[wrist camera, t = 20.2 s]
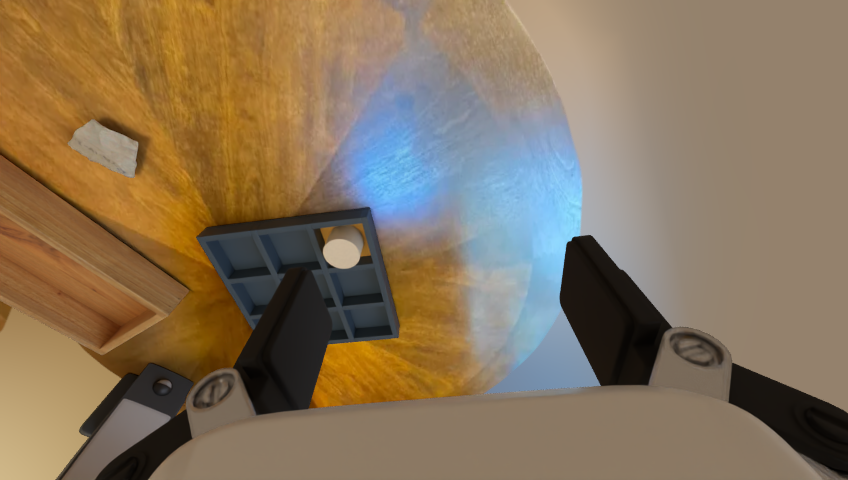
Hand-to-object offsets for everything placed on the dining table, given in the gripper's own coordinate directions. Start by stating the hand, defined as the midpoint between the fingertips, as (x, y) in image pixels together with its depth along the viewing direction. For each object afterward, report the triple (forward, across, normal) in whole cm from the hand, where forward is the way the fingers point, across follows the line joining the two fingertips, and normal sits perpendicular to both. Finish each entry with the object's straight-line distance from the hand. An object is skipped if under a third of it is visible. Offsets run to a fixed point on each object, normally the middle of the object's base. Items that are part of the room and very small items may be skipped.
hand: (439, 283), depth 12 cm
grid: (+26, +19, +20) cm, 38 cm away
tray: (+26, +50, +8) cm, 57 cm away
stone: (+26, +34, -2) cm, 43 cm away
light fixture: (+26, +49, +36) cm, 66 cm away
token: (+26, +12, +13) cm, 31 cm away
